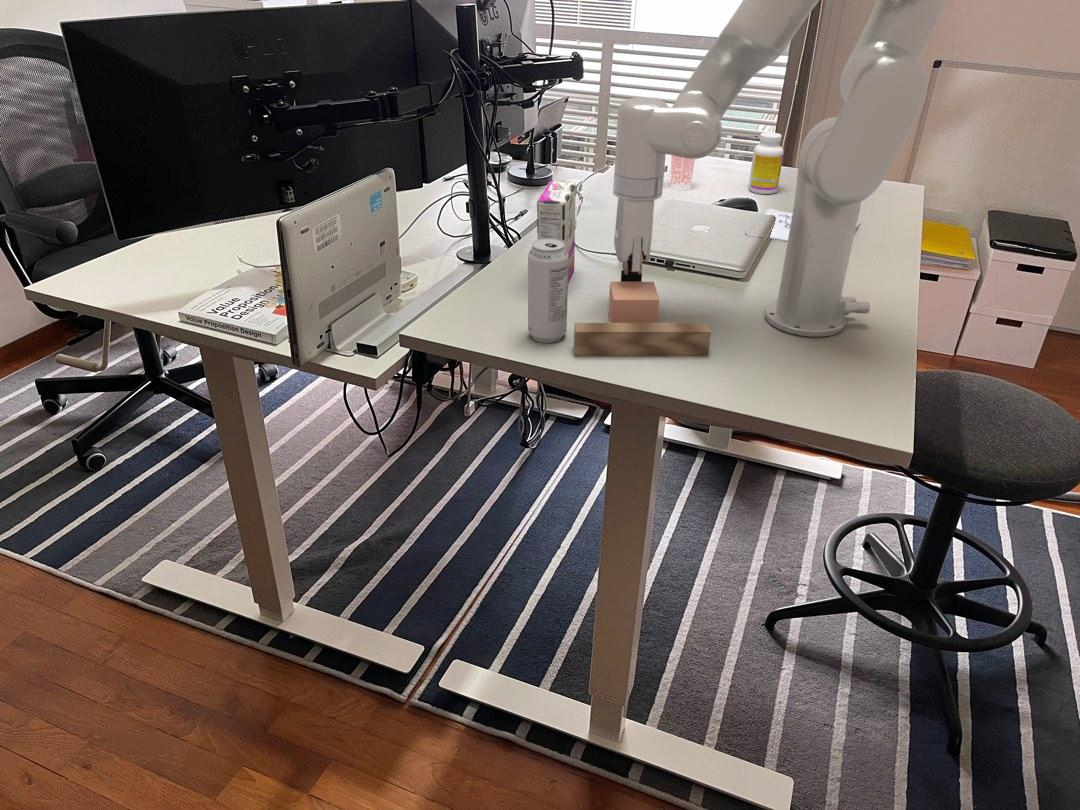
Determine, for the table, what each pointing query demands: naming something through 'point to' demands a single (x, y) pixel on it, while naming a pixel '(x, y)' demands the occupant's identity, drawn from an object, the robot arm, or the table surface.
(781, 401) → the table surface
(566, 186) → the candy bar box
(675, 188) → the beverage cup
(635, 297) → the terracotta block
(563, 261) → the energy drink can
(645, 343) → the walnut plank
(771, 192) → the supplement bottle
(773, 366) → the table surface
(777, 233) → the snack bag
